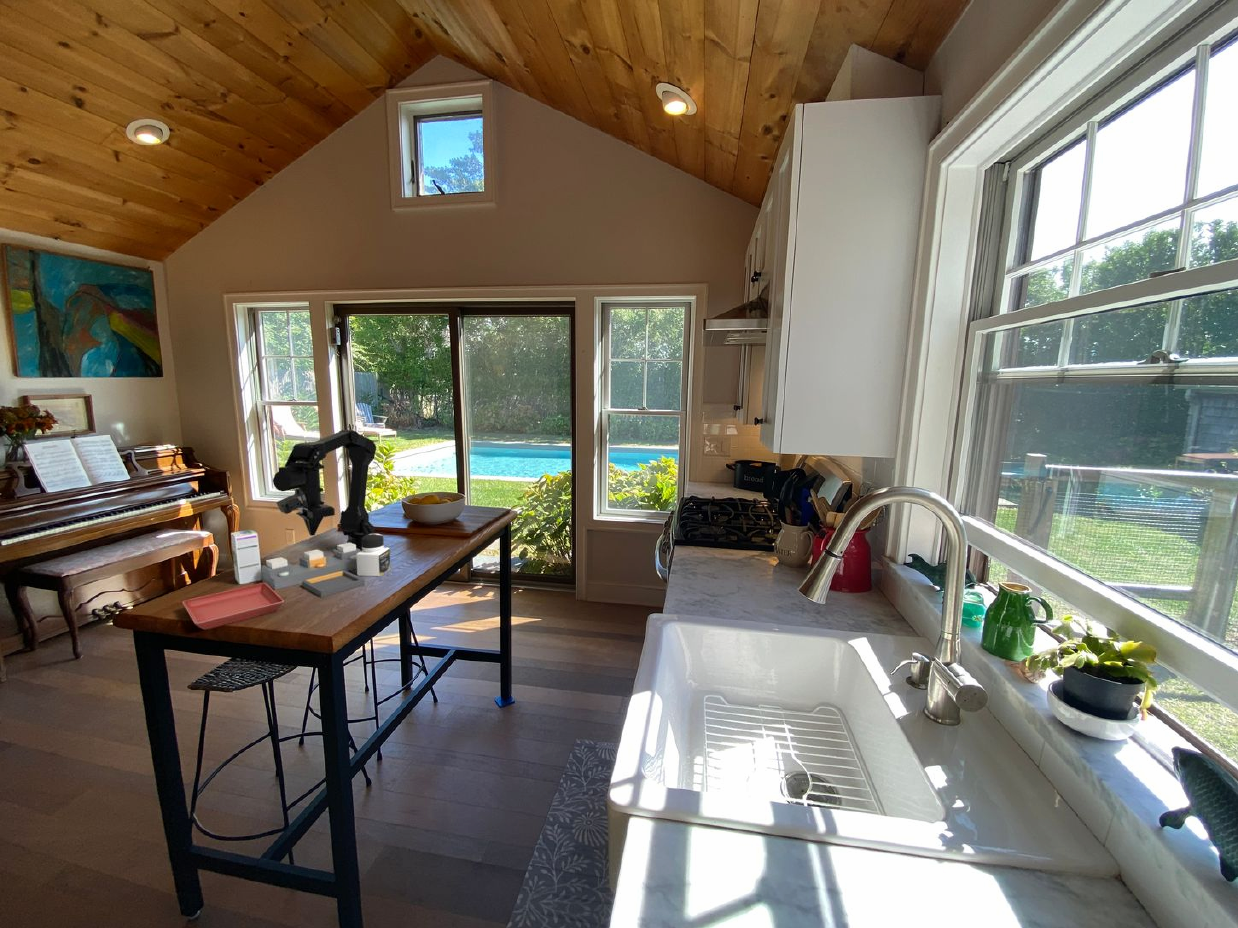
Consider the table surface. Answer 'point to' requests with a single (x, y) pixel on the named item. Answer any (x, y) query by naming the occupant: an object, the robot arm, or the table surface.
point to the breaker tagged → (313, 554)
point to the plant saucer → (232, 605)
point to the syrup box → (246, 556)
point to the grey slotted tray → (309, 569)
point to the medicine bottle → (373, 556)
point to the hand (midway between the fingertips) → (312, 535)
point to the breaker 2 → (346, 547)
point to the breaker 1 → (276, 563)
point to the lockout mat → (333, 583)
